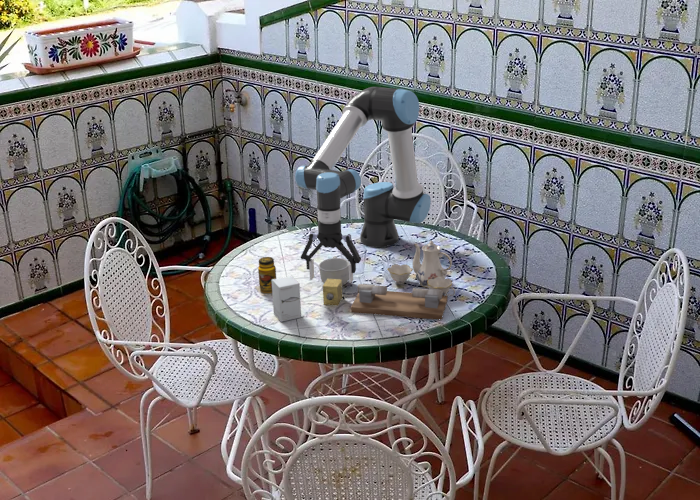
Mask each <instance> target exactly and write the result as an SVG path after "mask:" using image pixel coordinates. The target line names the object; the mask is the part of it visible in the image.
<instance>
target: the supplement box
mask: <svg viewBox="0 0 700 500" xmlns="http://www.w3.org/2000/svg"><path fill="white" fill-rule="evenodd" d="M271 281H272V294H271V295H272V307H273V314H274V315H275V316H276V318H277V319H278V320H279V322H280V323H282V322H286V321H290V320H294V319H300V318H302V307H301V289H300V288H301V287H300V282H299V281H298V280H297V279H296V278H295V277H294V276H293V275H288V276H283V277H278V278H277V277H276V279H272V280H271Z"/></svg>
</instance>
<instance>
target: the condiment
mask: <svg viewBox="0 0 700 500" xmlns="http://www.w3.org/2000/svg"><path fill="white" fill-rule="evenodd" d="M257 273H258V281H259V282H258V283H259V285H256V286H254V288H255V289H256V290H257V292H258V293H259V295H261V296H262V297H264V296H268V295H269V296H270V295H272V281H271V280H272V279H277V268H276V265H275V259H274V258H273V257H270V256H264V257H261V258H259V259H258V268H257Z"/></svg>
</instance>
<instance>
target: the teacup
mask: <svg viewBox="0 0 700 500" xmlns="http://www.w3.org/2000/svg"><path fill="white" fill-rule="evenodd" d="M349 264H350V262H349V261H348V260H347V259H346V258H341V257H338V256H335V255H334V256H332V258H327V259H325V260H323V261H321V262H319V264H318V269H319V276H320V280H321V283H323V284H324V283H325V282H326V280H327V279H340V280H342V287H343V286H345V285H346V284H347V283H349Z"/></svg>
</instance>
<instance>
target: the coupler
mask: <svg viewBox="0 0 700 500" xmlns="http://www.w3.org/2000/svg"><path fill="white" fill-rule="evenodd" d="M322 297H323V299H322V301H323V305H324V306H336V307H338V306H339V305H340V303H341V302H342V300H343V286H342V280H340V279H327V280H326V282H325V283H323V284H322Z"/></svg>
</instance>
